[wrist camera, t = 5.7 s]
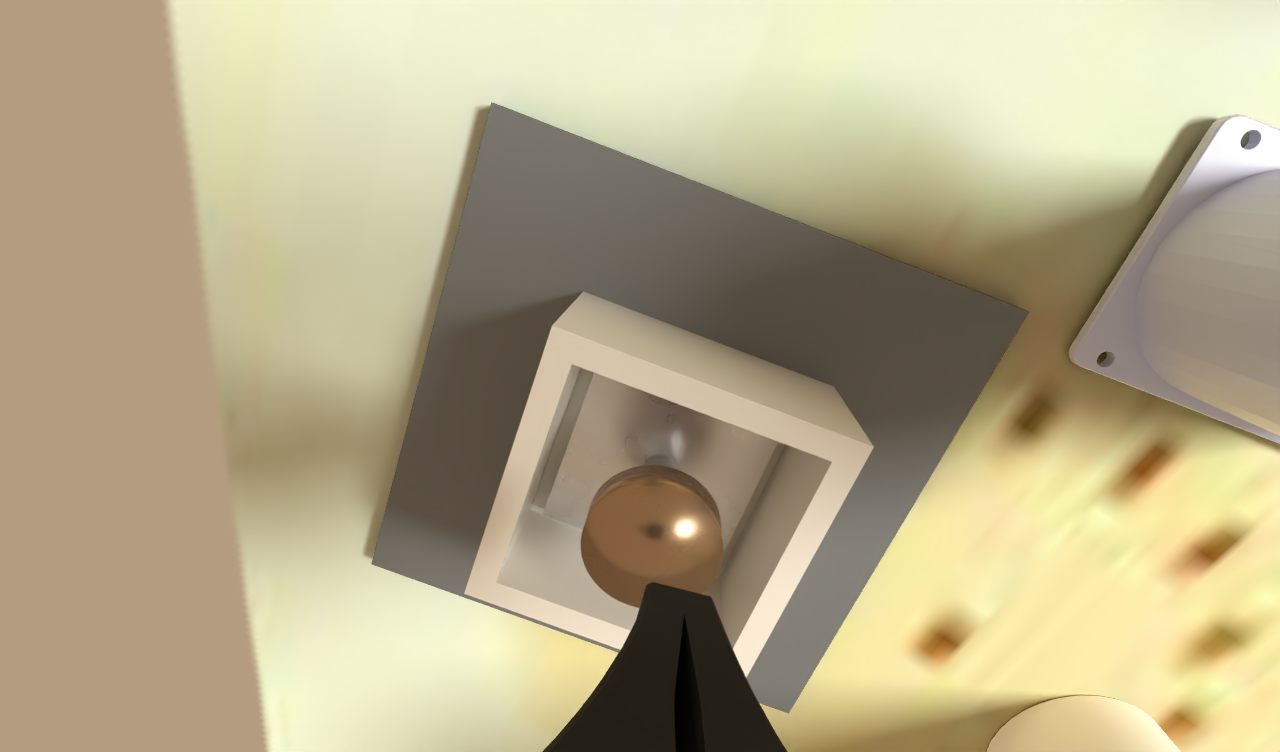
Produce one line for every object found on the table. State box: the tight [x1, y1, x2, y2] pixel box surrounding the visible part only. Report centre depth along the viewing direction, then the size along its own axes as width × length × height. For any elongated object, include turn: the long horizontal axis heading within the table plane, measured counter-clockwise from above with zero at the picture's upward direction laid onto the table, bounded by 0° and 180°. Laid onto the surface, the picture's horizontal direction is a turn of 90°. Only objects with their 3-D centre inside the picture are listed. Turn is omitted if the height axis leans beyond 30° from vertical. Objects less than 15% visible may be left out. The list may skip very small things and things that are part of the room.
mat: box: [372, 102, 1029, 713], centre depth 22 cm, size 18×18×1 cm
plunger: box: [543, 373, 778, 608], centre depth 19 cm, size 6×6×5 cm
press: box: [464, 291, 874, 678], centre depth 20 cm, size 9×9×5 cm
